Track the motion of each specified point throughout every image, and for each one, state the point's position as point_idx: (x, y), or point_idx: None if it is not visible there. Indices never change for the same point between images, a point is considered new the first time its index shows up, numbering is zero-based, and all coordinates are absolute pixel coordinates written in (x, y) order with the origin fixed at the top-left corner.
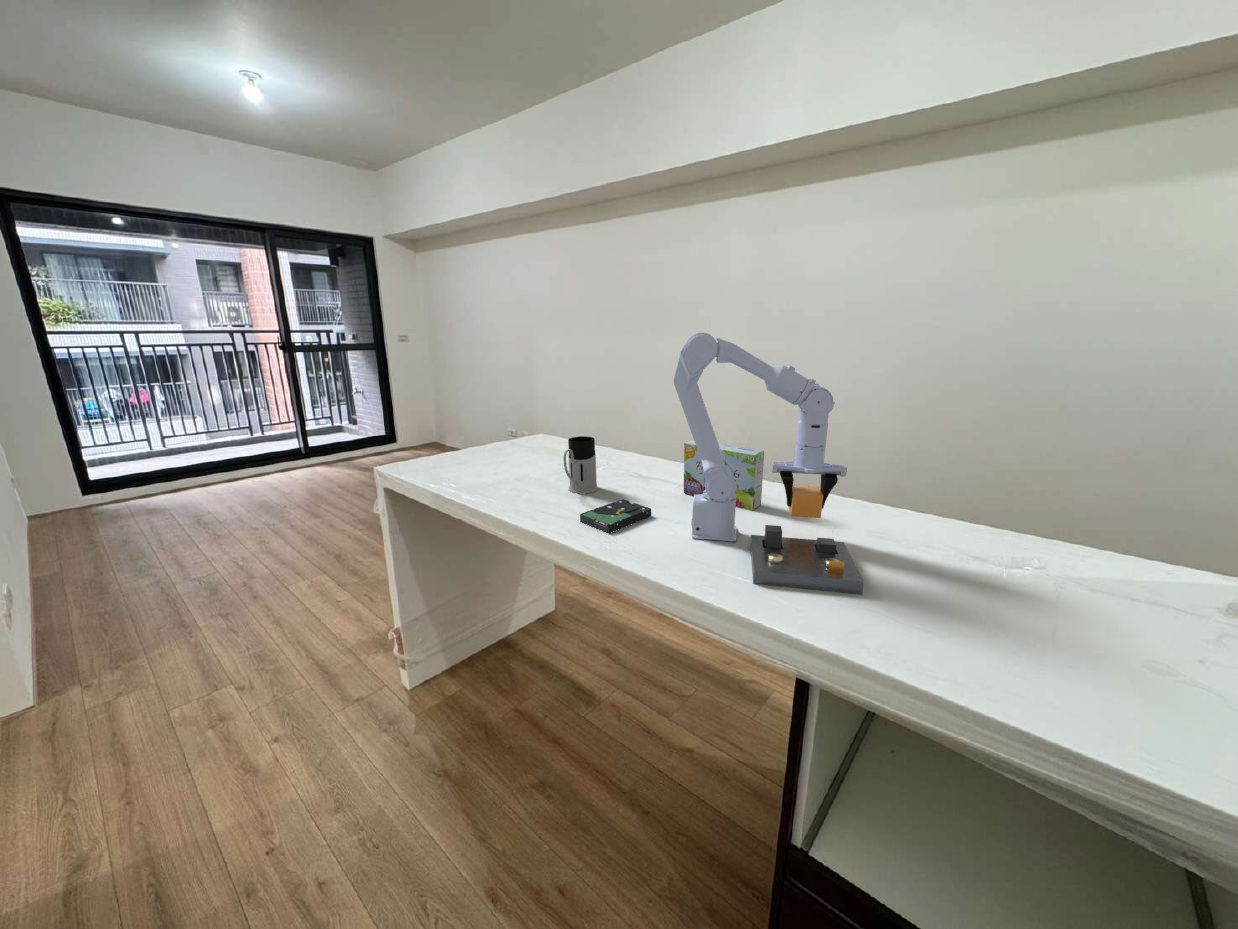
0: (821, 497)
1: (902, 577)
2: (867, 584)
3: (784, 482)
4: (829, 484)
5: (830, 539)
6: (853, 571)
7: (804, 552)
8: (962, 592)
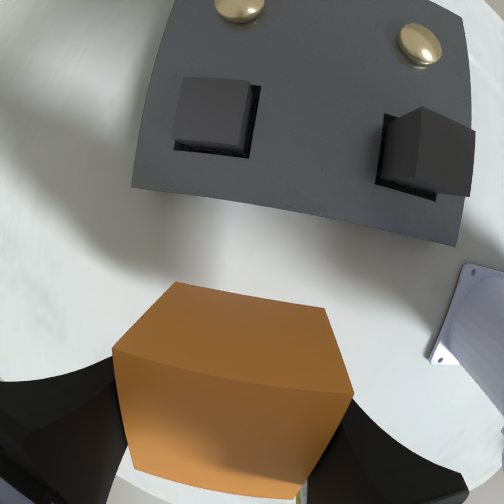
0: (129, 343)
1: (72, 73)
2: (163, 16)
3: (434, 468)
4: (29, 401)
5: (186, 128)
6: None
7: (311, 82)
8: (24, 54)
